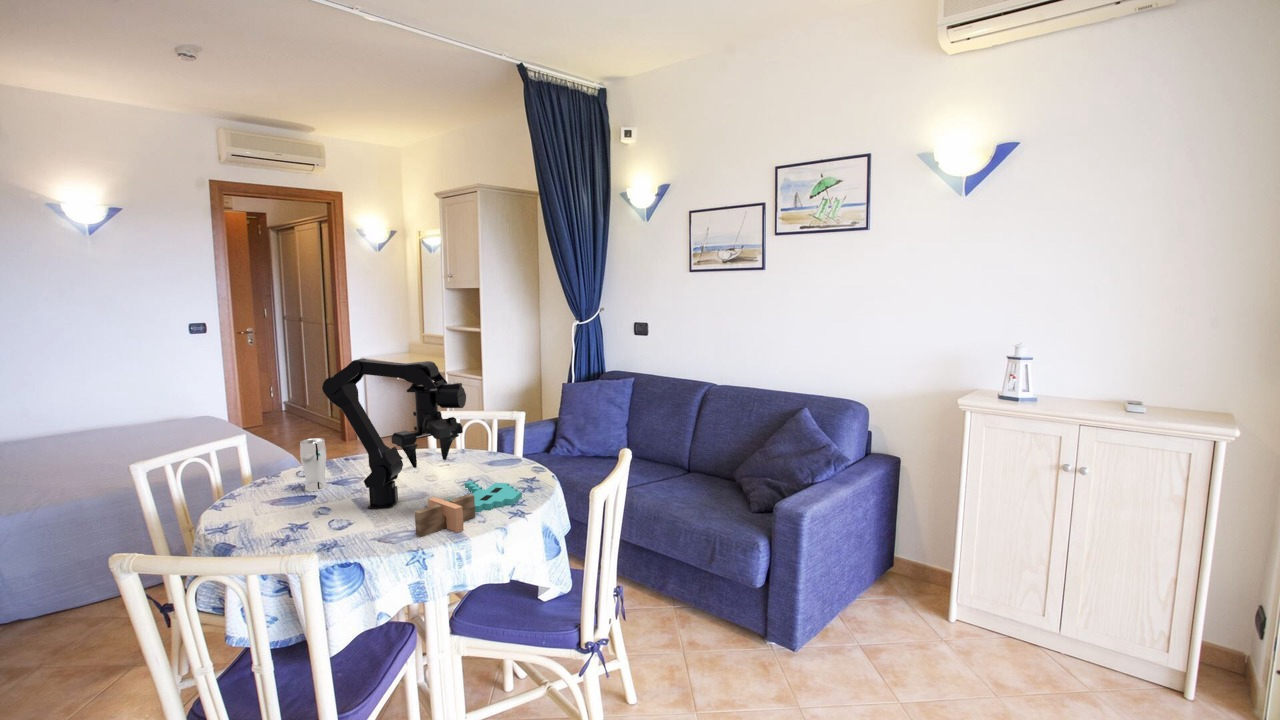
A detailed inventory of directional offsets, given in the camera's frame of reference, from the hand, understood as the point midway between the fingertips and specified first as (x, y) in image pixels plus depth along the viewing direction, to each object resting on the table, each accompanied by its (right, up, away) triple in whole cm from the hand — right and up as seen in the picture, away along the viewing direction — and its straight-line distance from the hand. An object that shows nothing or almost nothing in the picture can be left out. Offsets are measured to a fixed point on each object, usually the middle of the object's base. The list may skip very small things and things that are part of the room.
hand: (430, 463), depth 172 cm
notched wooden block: (+9, -14, -14) cm, 21 cm away
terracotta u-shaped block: (+9, -14, -14) cm, 21 cm away
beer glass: (-41, -11, +18) cm, 46 cm away
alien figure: (+14, -12, +6) cm, 19 cm away
